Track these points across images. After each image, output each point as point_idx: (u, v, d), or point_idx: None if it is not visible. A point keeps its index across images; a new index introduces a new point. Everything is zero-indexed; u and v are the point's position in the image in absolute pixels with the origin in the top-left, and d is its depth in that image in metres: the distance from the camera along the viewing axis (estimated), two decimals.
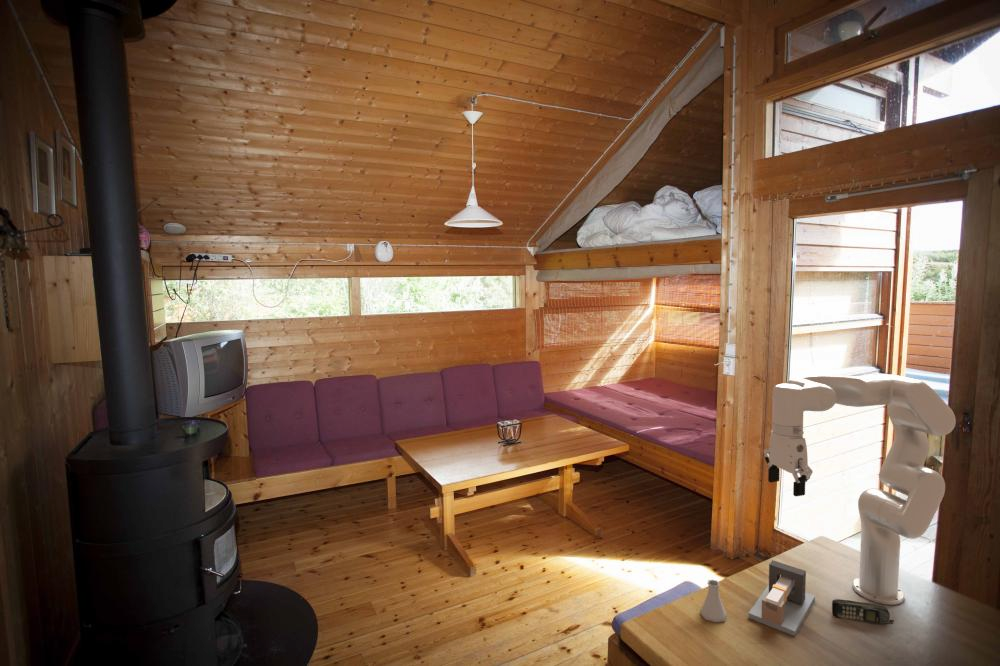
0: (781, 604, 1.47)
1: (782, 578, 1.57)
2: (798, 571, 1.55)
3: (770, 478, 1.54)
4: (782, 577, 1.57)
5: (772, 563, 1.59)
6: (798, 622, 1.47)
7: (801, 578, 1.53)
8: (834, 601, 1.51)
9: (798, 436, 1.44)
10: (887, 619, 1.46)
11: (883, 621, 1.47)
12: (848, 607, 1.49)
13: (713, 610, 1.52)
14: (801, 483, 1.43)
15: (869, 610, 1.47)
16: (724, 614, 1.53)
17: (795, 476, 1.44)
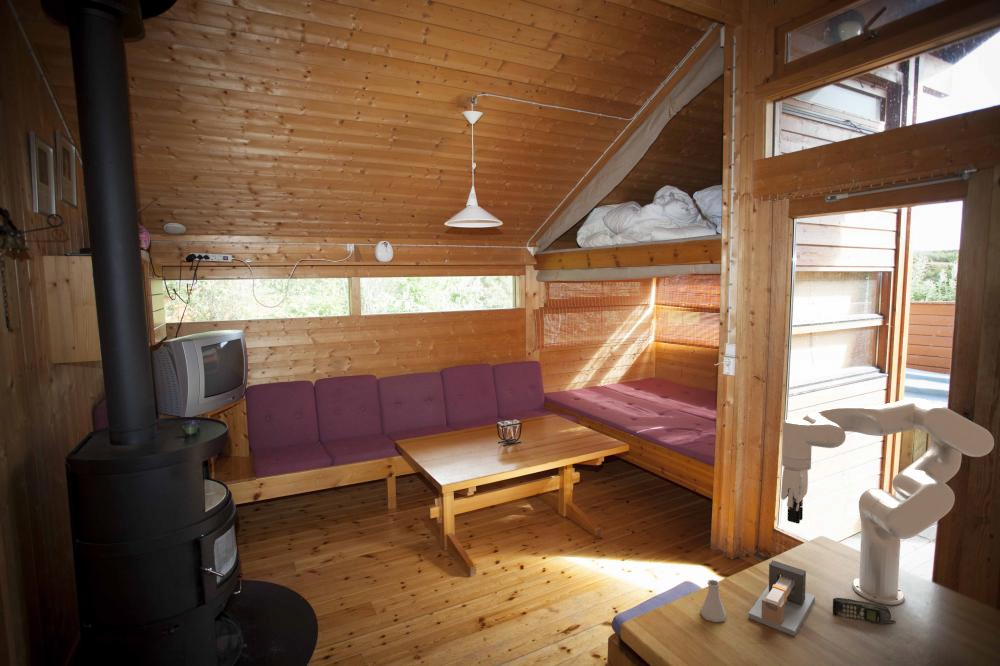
0: (781, 604, 1.47)
1: (782, 578, 1.57)
2: (798, 571, 1.55)
3: None
4: (782, 577, 1.57)
5: (772, 563, 1.59)
6: (798, 622, 1.47)
7: (801, 578, 1.53)
8: (835, 599, 1.52)
9: None
10: (888, 619, 1.46)
11: (884, 621, 1.47)
12: (849, 606, 1.50)
13: (713, 610, 1.52)
14: None
15: (869, 610, 1.48)
16: (724, 614, 1.53)
17: (802, 500, 1.60)
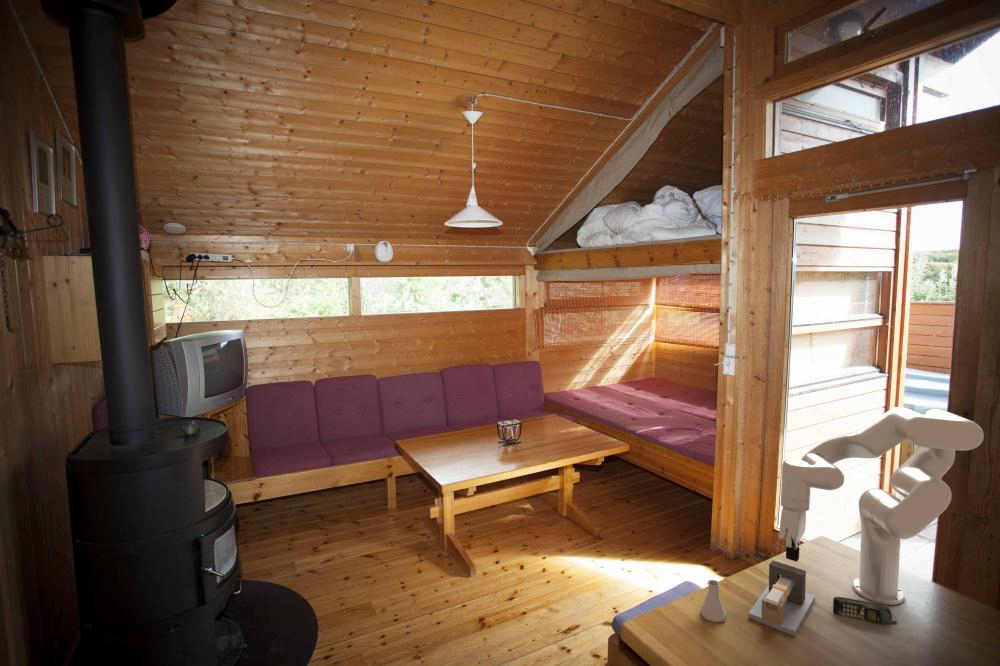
0: (781, 604, 1.47)
1: (782, 578, 1.57)
2: (798, 571, 1.55)
3: None
4: (782, 577, 1.57)
5: (772, 563, 1.59)
6: (798, 622, 1.47)
7: (801, 578, 1.53)
8: (835, 598, 1.52)
9: None
10: (889, 620, 1.46)
11: (885, 621, 1.47)
12: (849, 605, 1.50)
13: (713, 610, 1.52)
14: None
15: (870, 609, 1.48)
16: (724, 614, 1.53)
17: (799, 540, 1.61)
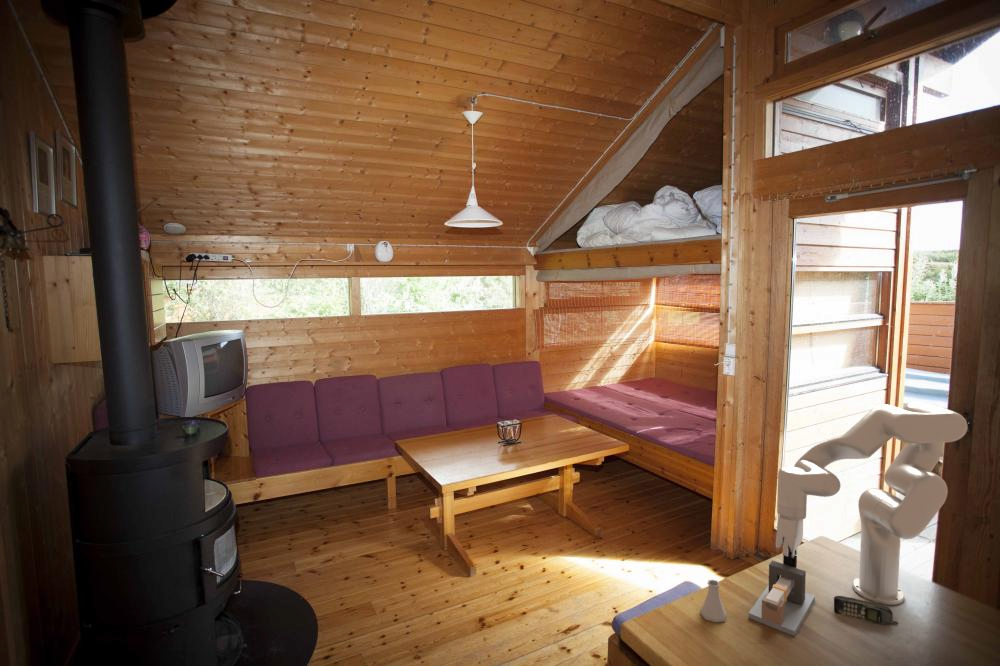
0: (781, 604, 1.47)
1: (782, 578, 1.57)
2: (798, 571, 1.55)
3: None
4: (782, 577, 1.57)
5: (772, 563, 1.59)
6: (798, 622, 1.47)
7: (801, 578, 1.53)
8: (836, 597, 1.53)
9: None
10: (890, 620, 1.46)
11: (885, 621, 1.46)
12: (849, 604, 1.50)
13: (713, 610, 1.52)
14: None
15: (870, 609, 1.48)
16: (724, 614, 1.53)
17: (796, 549, 1.59)
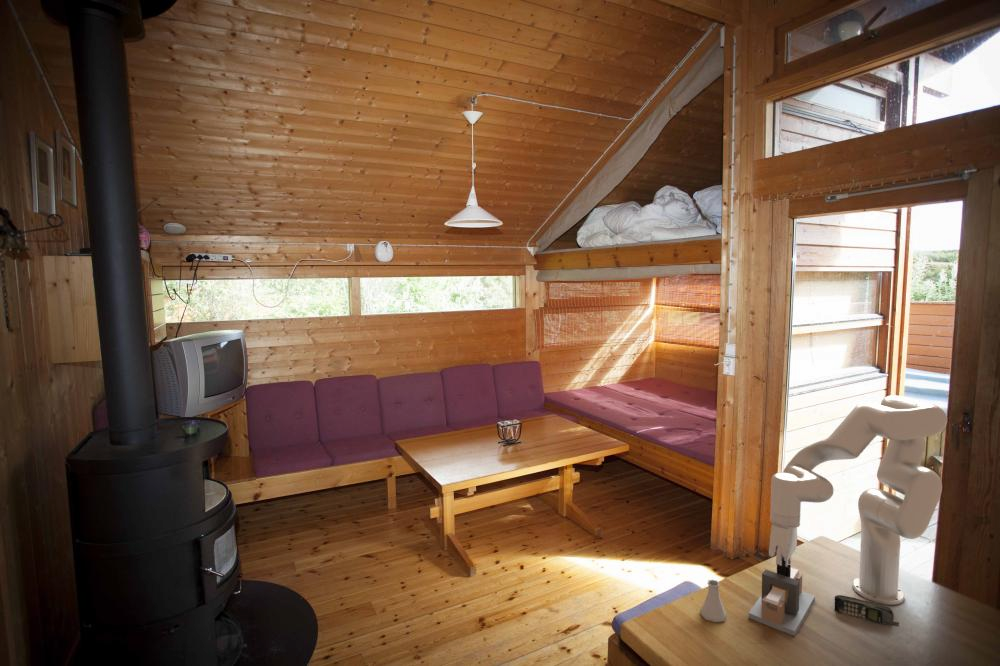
0: (781, 604, 1.47)
1: None
2: (792, 581, 1.50)
3: None
4: None
5: (765, 572, 1.55)
6: (798, 622, 1.47)
7: (794, 588, 1.49)
8: (837, 596, 1.53)
9: None
10: (890, 620, 1.46)
11: (886, 622, 1.46)
12: (850, 604, 1.51)
13: (713, 610, 1.52)
14: None
15: (871, 609, 1.48)
16: (724, 614, 1.53)
17: (790, 558, 1.54)
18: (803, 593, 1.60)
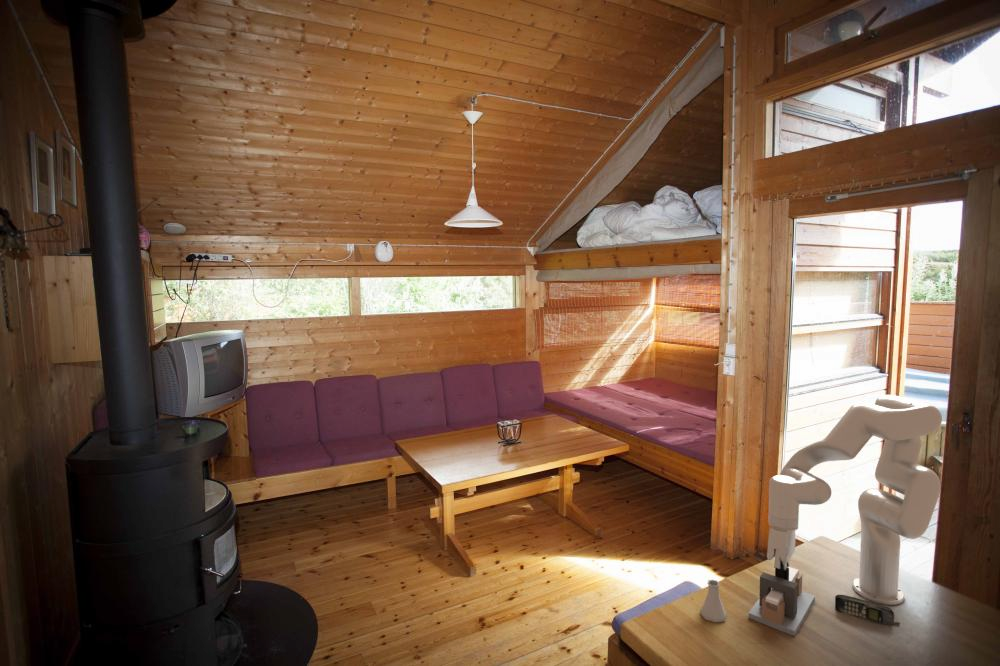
0: (781, 604, 1.47)
1: None
2: (790, 584, 1.49)
3: None
4: None
5: (763, 575, 1.54)
6: (798, 622, 1.47)
7: (793, 591, 1.47)
8: (837, 596, 1.53)
9: None
10: (891, 620, 1.46)
11: (886, 622, 1.46)
12: (850, 603, 1.51)
13: (713, 610, 1.52)
14: None
15: (871, 609, 1.48)
16: (724, 614, 1.53)
17: None
18: (803, 593, 1.60)
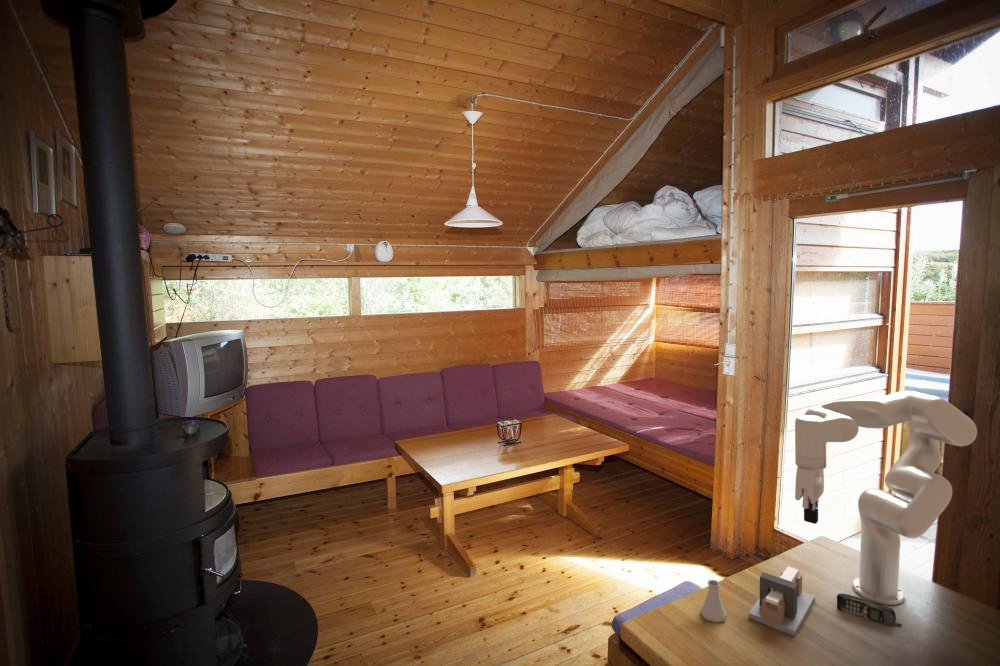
0: (781, 604, 1.47)
1: (782, 578, 1.57)
2: (790, 584, 1.49)
3: None
4: (782, 577, 1.57)
5: (763, 575, 1.53)
6: (798, 622, 1.47)
7: (793, 591, 1.47)
8: (839, 594, 1.54)
9: None
10: (892, 621, 1.46)
11: (887, 622, 1.46)
12: (852, 602, 1.51)
13: (713, 610, 1.52)
14: None
15: (872, 609, 1.48)
16: (724, 614, 1.53)
17: (817, 501, 1.52)
18: (803, 593, 1.60)
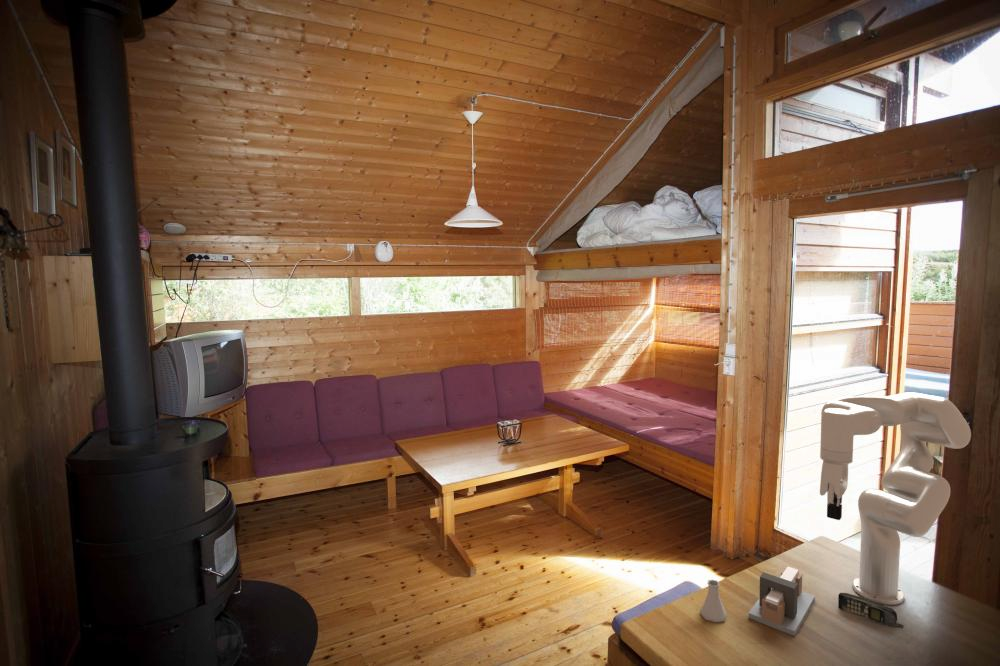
0: (781, 604, 1.47)
1: (782, 578, 1.57)
2: (790, 584, 1.49)
3: None
4: (782, 577, 1.57)
5: (763, 575, 1.53)
6: (798, 622, 1.47)
7: (793, 591, 1.47)
8: (841, 593, 1.54)
9: None
10: (893, 621, 1.45)
11: (888, 622, 1.46)
12: (853, 602, 1.52)
13: (713, 610, 1.52)
14: None
15: (873, 608, 1.48)
16: (724, 614, 1.53)
17: (841, 497, 1.48)
18: (803, 593, 1.60)
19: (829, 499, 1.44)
